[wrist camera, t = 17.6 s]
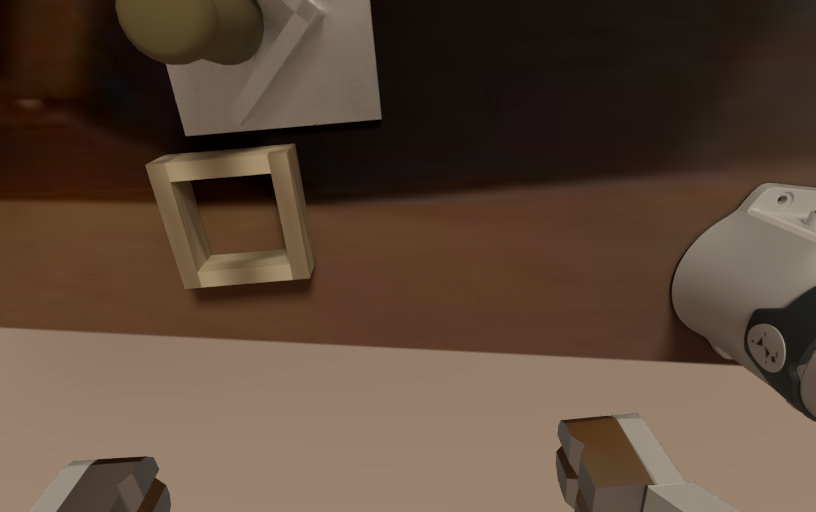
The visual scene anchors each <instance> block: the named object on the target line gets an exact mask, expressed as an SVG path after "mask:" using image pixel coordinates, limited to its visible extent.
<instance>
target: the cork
mask: <svg viewBox="0 0 816 512" xmlns="http://www.w3.org/2000/svg"><path fill="white" fill-rule="evenodd" d="M116 11H117V15H118V19H119V23H120V25H121V27H122V29H123V30H124V32H125V34H126V36H127V38H128V39H129V40H130V41H131V42H132V43H133V44H134V45H135V47H136V48H137V49H138V50H140V51H141V52H143V53H144V54H146V55H147V56H149V57H150V58H152V59H154V60H156V61H159V62H162V63H166V64H169V65H186V64H190V63H192V62H195V61H198V60H200V59H203V60H207V61H211V62H214V63H218V64H221V65H237V64H240V63H243V62H245V61H248V60H249V59H250V58H251V57H252V56H253V55H254V54H255V53H256V52H257V50H258V48H259V47H260V45H261V43H262V39H263V34H264V21H263V14H262V12H261V9H260V7H259V4H258V2H257V0H116Z"/></svg>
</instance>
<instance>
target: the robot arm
mask: <svg viewBox="0 0 816 512" xmlns="http://www.w3.org/2000/svg"><path fill="white" fill-rule="evenodd" d="M780 197H781V199H780V200H779V201H778V199H779V198H780ZM672 301H673V306H674V309H675V311H676V313H677V315H678V317H679V318H680V320H681V321H682V322H683V323H684V324H685V325H686V326H687V327H688V328H690V329H691V330H693V331H695V332H697V333H698V334H700V335H702V336H703V337H705V338H706V339H708V341H709V343H710V344H711V346H712V348H713V349H714V350H715V351H716V352H717V353H718V354H719V355H721V356H722V357H723V358H725V359H734V360H736V361H737V362H738V363H740V364H741V365H742V366H744V367H745V368H747V369H748V370H749V371H751V372H752V373H753V374H754V375H756V376H757V377H759V378H760V379H761V380H763V381H764V382H765V383H767V384H768V385H770V386H771V387H772V388H774V389H775V390H776V391H777V392H778V393H779V394H780V395H781V396H783V397H784V398H785V399H786V402H787V403H789V404H790V405H791V406H792V407H793V408H795V409H796V410H798V411H800V412H802V413H803V414H804V415H805V416H806V417H808V418H810V419H811V420H813V421H815V422H816V188H812V187H803V186H794V185H785V184H776V183H766V184H763V185H761V186H759V187H758V188H756V189H755V190H754V191H753V192H752V193H751V194H750V195H749V196H748V197H747V198H746V199H745V201H744V202H743V203H742V204H741V205H740V207H739V208H738V209H737V210H736V211H735V212H733V213H732V214H730V215H729V216H728V217H726V218H724V219H723V220H721V221H720V222H718V223H716V224H715V225H714V226H712V227H711V228H709V229H708V230H707V231H706V232H704V233H703V234H702V235H701V236H700V237H699V238H698V239H697V240H696V241H695V242H694V243H693V244H692V245H691V247H690V248H689V249H688V251H687V252H686V253H685V255H684V257H683V258H682V260H681V262H680V264H679V266H678V268H677V270H676V273H675V276H674V280H673V285H672ZM558 437H559V440H560V442H561V444H562V446H561V447H560V448H559V449H558V450H557V452H556V468H557V475H558V481H559V484H560V488H561V491H562V494H563V497H564V500H565V502H566V503H567V504H569V505H570V506H571V507H572V508H573V509H575V512H742V511H740V510H738V509H737V508H735V507H734V506H732V505H731V504H729V503H727V502H726V501H724V500H723V499H721V498H720V497H718V496H716V495H715V494H713V493H711V492H710V491H708V490H707V489H705V488H704V487H702V486H701V485H699V484H697V483H696V482H686V481H685V479H684V478H683V476H682V475H681V473H680V472H679V471H678V469H677V468H676V466H675V465H674V463H673V462H672V460H671V459H670V457H669V456H668V454H667V453H666V451H665V450H664V449H663V447H662V446H661V444H660V443H659V441H658V440H657V438H656V437H655V435H654V434H653V432H652V431H651V429H650V428H649V426H648V425H647V424H646V422H645V421H644V419H643V418H642V416H640V415H639V414H637V413H632V414H622V415H611V416H601V417H590V418H580V419H570V420H561V421H560V423H559V426H558ZM158 471H159V468H158V466H157V464H156V462H155V460H154V458H153V457H129V458H112V459H98V460H87V461H73V462H72V463H70V464H68V465H67V466H65V467H64V468H63V469H62V470H61V472H60V473H59V474H58V476H57V477H56V478H55V479H54V481H53V482H52V483H51V485H50V486H49V487H48V488H47V490H46V491H45V492H44V493H43V495H42V496H41V497H40V499H39V500H38V501H37V503H36V504H35V505H34V506H33V508H32V509H31V510H30V512H170V507H171V502H170V494H169V491H168V489H167V486H166V485H165V484H164V483H162V482H161V481H159V480H158V479H156V478H155V477H156V475H157V473H158Z"/></svg>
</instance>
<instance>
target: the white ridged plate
mask: <svg viewBox="0 0 816 512" xmlns="http://www.w3.org/2000/svg"><path fill="white" fill-rule="evenodd" d="M257 2H258V4H259V7H260V9H261V12H262V14H263V21H264V34H263V39H262V43H261V45H260V47H259V48H258V50H257V52H256V53H255V54H254V55H253V56H252V57H251V58H250V59H249V60H248V61H245V62H243V63H240V64H237V65H221V64H218V63H214V62H211V61H207V60H203V59H200V60H198V61H195V62H192V63H190V64H186V65H169V64H166V66H167V70H168V73H169V77H170V81H171V84H172V88H173V91H174V95H175V99H176V102H177V106H178V110H179V113H180V117H181V121H182V124H183V128H184V131H185V135H186V136H194V135H205V134H217V133H228V132H240V131H251V130H263V129H274V128H286V127H297V126H309V125H320V124H332V123H343V122H355V121H366V120H378V119H381V118H382V117H381V107H380V97H379V87H378V77H377V67H376V57H375V47H374V37H373V27H372V17H371V7H370V0H257Z"/></svg>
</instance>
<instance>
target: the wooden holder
mask: <svg viewBox="0 0 816 512" xmlns="http://www.w3.org/2000/svg"><path fill="white" fill-rule="evenodd" d="M145 166H146V169H147V172H148V175H149V178H150V182H151V185H152V188H153V191H154V194H155V197H156V200H157V203H158V207H159V210H160V213H161V216H162V219H163V222H164V225H165V229H166V232H167V235H168V238H169V241H170V244H171V247H172V251H173V254H174V257H175V260H176V263H177V266H178V269H179V272H180V276H181V279H182V282H183V285H184V288H185V289H191V288H203V287H215V286H226V285H238V284H250V283H261V282H273V281H285V280H296V279H308V278H310V277H311V274H312V271H313V268H314V265H315V262H316V259H315V253H314V248H313V242H312V237H311V231H310V226H309V220H308V214H307V209H306V203H305V198H304V192H303V187H302V181H301V175H300V170H299V164H298V159H297V153H296V148H295V144H286V145H275V146H263V147H252V148H240V149H229V150H217V151H206V152H194V153H183V154H171V155H164V156H162V157H160V158H158V159H156V160H154V161H152V162H150V163H148V164H146V165H145ZM269 173H271V176H272V181H273V186H274V190H275V195H276V200H277V205H278V210H279V215H280V220H281V224H282V229H283V234H284V239H285V244H286V249H280V250H269V251H257V252H245V253H234V254H222V255H211V252H210V248H209V245H208V241H207V238H206V234H205V231H204V227H203V224H202V220H201V216H200V213H199V209H198V206H197V202H196V199H195V195H194V192H193V188H192V185H191V181H190V180H200V179H211V178H223V177H234V176H246V175H257V174H269Z"/></svg>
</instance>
